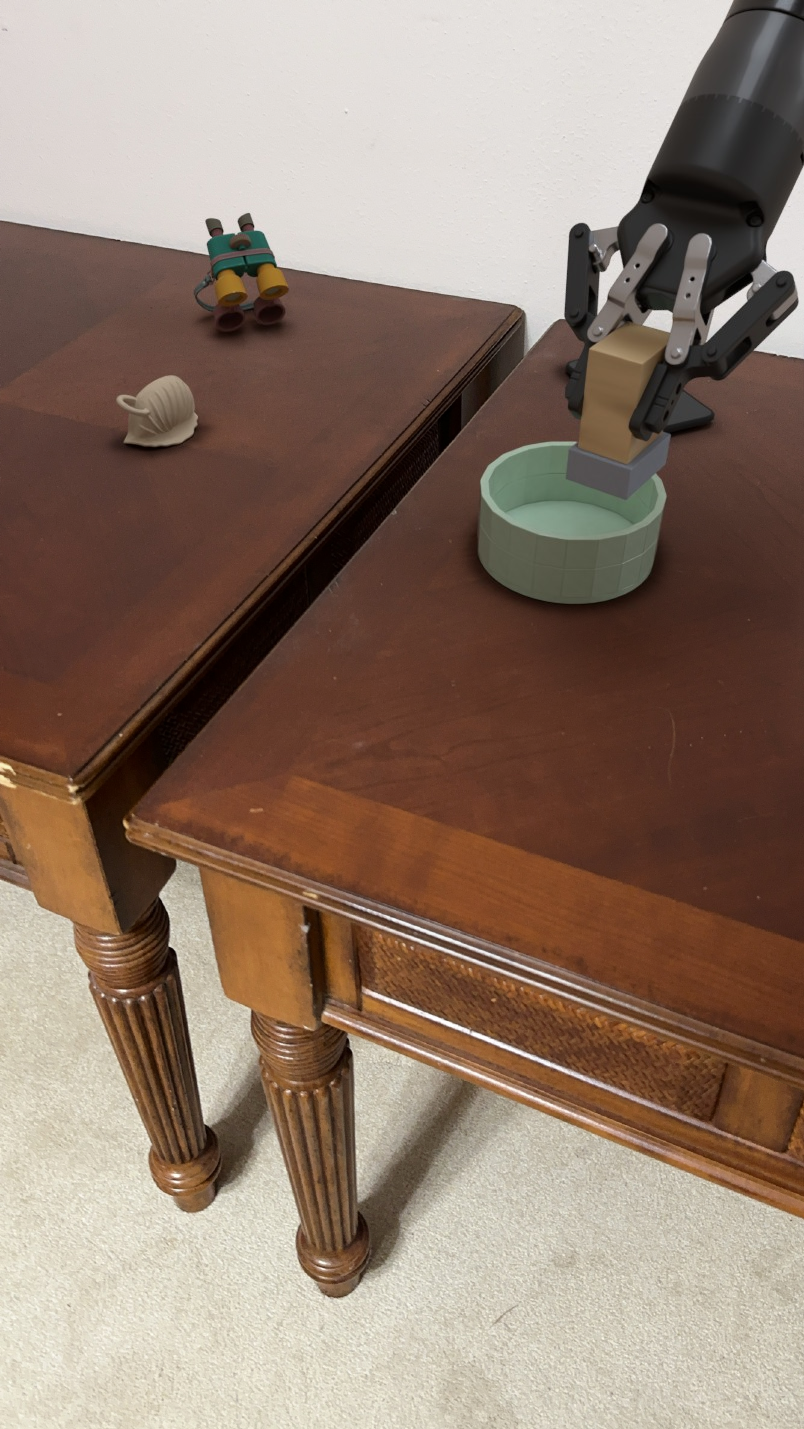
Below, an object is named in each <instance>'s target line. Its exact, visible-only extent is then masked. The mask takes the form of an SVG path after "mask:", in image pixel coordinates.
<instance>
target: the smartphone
mask: <svg viewBox="0 0 804 1429" xmlns="http://www.w3.org/2000/svg"><path fill="white" fill-rule="evenodd" d="M578 359H579V358H578ZM578 359H572V360H570V361H568V362H567V363H566V365H565V371H566V373H567V374H569V375H570V376H571V375H572V373H573V370H574V368H575V366H576V364H577V362H578ZM714 419H715V413H714V410H712V409H711V408H710V407H709V406H707V405H706V404H705V403H703V402H701V401H700V400H699V399H697V398H696V397H695V396H693V395H692V394H690V393H689V392H688V391H686V390H685V389H683V391H682V393H681V396H680V398H679V400H678V402H677V404H676V406H675V408H674V410H673V413H672V415H671V416H670V419H669V421H668V423H667V426H666V427H665V428H664V429H663V432H665V433H669V434H670V433H673V432H678V431H683V430H686V429H690V428H696V427H701V426H704V425H708V424H710V423H712V422H713V421H714Z"/></svg>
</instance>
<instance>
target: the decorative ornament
mask: <svg viewBox="0 0 804 1429" xmlns="http://www.w3.org/2000/svg"><path fill="white" fill-rule="evenodd" d="M116 403H117V405H118V406H119V407H120V408H121V409H122V410H124V411H126V412H127V413H129V414H128V420H127V434H126V437H125V438H124V440H123V444H131V445H138V446H142V447H152V448H157V447H170V446H175V445H181V444H183V443H184V442H185V441H186V440H188V439H191V437H192V436H194V433H195V429H196V428H197V427H198V420H199V416H198V415H197V414H196V412H195V409H196V407H195V405H196V404H195V399H194V395H193V393H192V391H191V388H190V387H189V385H188V384H187V383H185V381H184V380H182V379H181V378H180V377H178V376H177V375H173V374H171V375H170V374H169V375H165V376H162V377H159V378H156V379H155V380H153V381H152V382H150V383H149V384H146V385H145V386H144V387H143V389H141V390H140V391H139V392H138V394H137V395H136V396H133V395H128V394H120V395H118V396H117V397H116ZM127 403H129V404H131V405H129V404H127Z"/></svg>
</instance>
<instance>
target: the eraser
mask: <svg viewBox="0 0 804 1429" xmlns="http://www.w3.org/2000/svg"><path fill="white" fill-rule="evenodd" d="M670 332H671V331H670ZM670 332H669V331H666V330H662V329H658V328H654V327H651V326H647V325H644V324H643V325H640V324H637V323H633V322H629V321H627V322H626V323H624V324H623V325H622V326H620V327H619V328H617V329H616V330H615V331H613V332H612V333H610V334H609V335H608V336H606V337H605V338H603V339H602V340H601V341H599V342H598V343H596V344H595V345H593V346H592V347H591V348H590V349H589V354H588V363H587V372H586V381H585V390H584V400H583V409H582V417H581V420H580V425H579V434H578V441H576V442H577V443H576V444H574V445H573V446H572V447H571V448H569V453H568V462H567V471H566V479H567V480H570V481H573V482H576V483H579V484H581V485H584V486H587V487H590V488H593V489H596V490H598V491H601V492H604V493H607V494H610V495H613V496H615V497H618V498H621V499H624V500H627V499H628V498H629V497H630V496H631V495H632V494H633V493H635V492H636V491H637V490H638V489H639V488H640V487H641V486H642V485H643V484H644V483H646V482H647V481H648V480H649V479H650V478H651V477H652V476H653V475H654V474H655V473H656V474H657V473H658V472H659V471H660V470H661V469H662V468H663V467H664V466H666V464H667V458H668V453H669V447H670V442H671V436H672V435H671V434H670V433H665V432H663V430H662V431H661V432H660V433H659V434H657V433H652V435H651V437H650V439H649V440H648V441H643V440H640V439H637V438H635V437H634V435H633V434H632V433H631V432H630V430H629V421H630V419H631V416H632V414H633V412H634V410H635V409H636V407H637V405H638V403H639V401H640V399H641V397H642V394H643V392H644V390H645V388H646V386H647V384H648V382H649V379H650V377H651V375H652V373H653V371H654V369H655V367H656V364H657V363H659V364H662V363H663V361H664V359H665V351H666V347H667V343H668V339H669V336H670Z"/></svg>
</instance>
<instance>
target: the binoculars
mask: <svg viewBox="0 0 804 1429" xmlns="http://www.w3.org/2000/svg"><path fill="white" fill-rule="evenodd" d="M253 220H254V219H253V217H252V214H251V213H250V212H246V213H244V214H242V215H240V216H239V217H238V218H237V224H238V228H239V230H240V231H239V232H236V233H234V232H231V233H226V234H224V232H225V230H224V227H223V225H222V221H221V220H220V219H218V218H214V217H209V218H206V219H205V221H204V222H205V223H204V224H205V225H206V229H207V231H208V234H209V236H210V237H211V238H209V239H208V241H207V242H206V248H207V252H208V256H209V261H210V263H209V264H210V270H209V271H207V272H206V274H205V276H204V278H203V279H202V280H200V281H201V282H200V283H198V284H197V285H196V286H195V287H194V289H193V296H194V299H195V301H196V303H197V304H198V305H199V307H201V308H202V309H204V310H206V311H208V312H212V313H213V318H214V323H215V328H216V329H217V330H219V331H221V332H223V333H224V332H225V333H226V332H227V333H228V332H229V333H230V332H232V331H236V330H238V329H240V328H241V327H243V326H244V324H245V322H246V320H247V316H246V314H245V312H244V311H247V310H251V309H253V312H254V317H255V321H256V322H257V323H258V324H260V325H263V326H270V325H274V324H276V323H278V322H279V321H281V320H282V319H283V318H284V317H285V315H286V307H285V306H284V304H283V302H282V301H281V299H280V298H282V297H283V296H286V294H288V293H289V291H290V288H289V285H288V283H287V281H286V278H285V276H284V273H283V271H282V270H281V269H279V268H277V267H278V263H277V262H276V256H275V254H274V252H273V250H272V249H271V247H270V245H269V242H268V240H267V237H266V234H265V233H264V232H263V231H261V230H255V223H254V221H253ZM245 274H246V275H247V276H248V277H250V278H256V280H255V281H256V286H257V290H258V293H259V294H258V295H259V296H257V297H256V298H255V299H254V300H253V301H249V302H246V303H243V302H245V301H247V299H248V297H249V295H248V293H247V291H246V290H247V289H245V285H244V283H243V281H242V277H244V275H245ZM215 281H216V282H215ZM214 283H215V284H214ZM213 285H214V292H215V295H216V299H217V303H216V304H215V305H211V304H207V303H206V302H203V301H202V300H201V299H200V298H199V297H198V295H199V293H200V292H201V291H202V290H204V289H206V288H207V287H209V286H213Z"/></svg>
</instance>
